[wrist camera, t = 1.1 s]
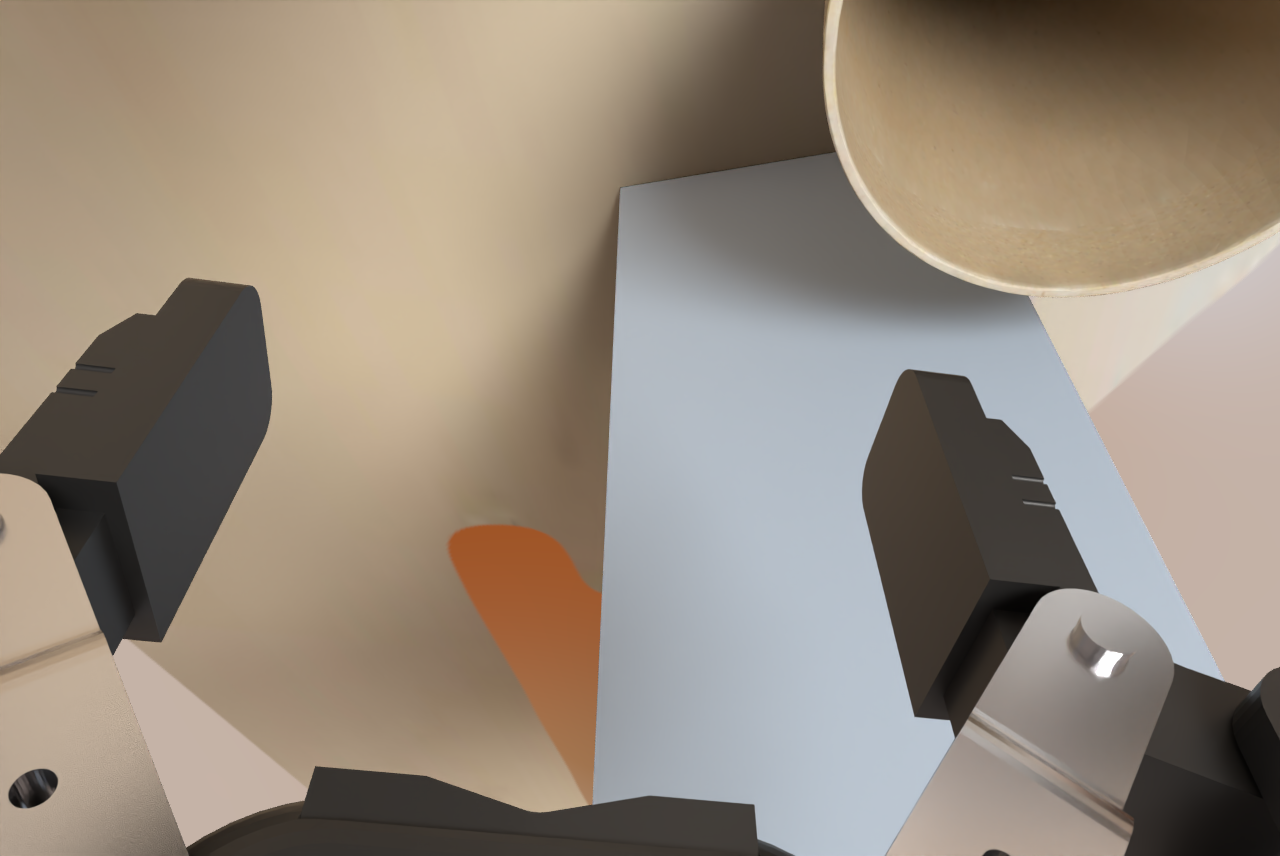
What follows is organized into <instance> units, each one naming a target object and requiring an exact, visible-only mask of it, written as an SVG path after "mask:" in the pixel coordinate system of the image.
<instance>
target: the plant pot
mask: <svg viewBox="0 0 1280 856" xmlns="http://www.w3.org/2000/svg"><path fill="white" fill-rule="evenodd" d="M822 78H823V93H824V103H825V110H826V116H827V121H828V125H829V130H830V134H831V137H832V141H833V144H834V148H835V151H836V153H837V156H838V158H839V161H840V163H841V166H842V168H843V171H844V173H845V175H846V177H847V180H848V182H849V183H850V185H851V187H852V189H853V190H854V192H855V194H856V195H857V197H858V199H859V200H860V201H861V203H862V204H863V206H864V207H865V209H866V210H867V211H868V212H869V214H870V215H871V216H872V217H873V218H874V220H875V221H876V222H877V223H878V224H879V225H880V226H881V227H882V228H883V230H884V231H885V232H886V233H887V234H888V235H889V236H890V237H891V238H893V239H894V240H895V241H896V242H897V243H898V244H899V245H900V246H902V247H903V248H905V249H906V250H907V251H909V252H910V253H912V254H913V255H914V256H916V257H917V258H919V259H921V260H922V261H924V262H926V263H927V264H929V265H931V266H933V267H935V268H937V269H939V270H941V271H943V272H945V273H947V274H950V275H952V276H954V277H956V278H959V279H961V280H963V281H966V282H969V283H972V284H976V285H979V286H982V287H985V288H989V289H993V290H997V291H1002V292H1006V293H1012V294H1018V295H1026V296H1036V297H1084V296H1096V295H1105V294H1112V293H1119V292H1125V291H1130V290H1134V289H1138V288H1143V287H1147V286H1151V285H1156V284H1160V283H1163V282H1167V281H1170V280H1174V279H1177V278H1180V277H1182V276H1185V275H1188V274H1191V273H1194V272H1196V271H1199V270H1202V269H1204V268H1207V267H1209V266H1212V265H1214V264H1217V263H1219V262H1221V261H1223V260H1226V259H1228V258H1230V257H1232V256H1234V255H1236V254H1238V253H1240V252H1242V251H1244V250H1246V249H1248V248H1250V247H1252V246H1254V245H1256V244H1258V243H1260V242H1262V241H1264V240H1266V239H1268V238H1270V237H1271V236H1273V235H1275V234H1276V233H1278V232H1280V0H825V7H824V24H823V59H822Z"/></svg>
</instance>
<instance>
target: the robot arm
mask: <svg viewBox="0 0 1280 856" xmlns="http://www.w3.org/2000/svg"><path fill="white" fill-rule="evenodd" d="M271 406H272V388H271V380H270V372H269V364H268V356H267V349H266V341H265V333H264V326H263V318H262V310H261V303H260V298H259V295H258V293H257V291H256V289H255V288H254V287H253V286H250V285H242V284H234V283H226V282H218V281H210V280H202V279H194V278H187V279H185V280H183V281H182V282H181V283H180V284H179V286H178V287H177V288H176V290H175V291H174V292H173V294H172V295H171V296H170V297H169V299H168V300H167V301H166V303H165V304H164V305H163V307H162V308H161V309H160V311H159V312H158V313H157V315H156V316H155V315H147V314H138V313H137V314H135V315H133V316H131V317H130V318H128V319H126V320H124V321H123V322H121V323H119V324H118V325H116V326H114V327H112V328H111V329H109V330H107V331H105V332H104V333H102V334H100V335H99V336H98V337H97V338H96V339H95V340H94V342H93V343H92V344H91V345H90V347H89V348H88V349H87V350H86V351H85V353H84V354H83V355H82V356H81V357H80V359H79V360H78V361H77V362H76V368H75V369H71V370H70V371H69V372H68V373H67V374H66V376H65V377H64V378H63V379H62V380H61V382H60V383H59V384H58V385H57V391H56V393H53V392H52V393H51V394H50V395H49V396H48V397H47V399H46V400H45V401H44V402H43V403H42V405H41V406H40V407H39V408H38V409H37V411H36V412H35V413H34V414H33V416H32V417H31V418H30V419H29V420H28V422H27V423H26V424H25V425H24V426H23V428H22V429H21V430H20V431H19V432H18V434H17V435H16V436H15V437H14V439H13V440H12V441H11V442H10V443H9V445H8V446H7V447H6V448H5V449H4V451H3V452H2V453H1V454H0V856H795V855H793V854H791V853H789V852H787V851H785V850H783V849H781V848H778V847H776V846H774V845H772V844H770V843H767V842H764V841H762V840H759V839H757V828H756V816H755V805H754V804H743V803H731V802H720V801H708V800H697V799H685V798H674V797H662V796H651V795H649V796H643V797H637V798H631V799H624V800H618V801H612V802H606V803H600V804H594V805H588V806H582V807H576V808H570V809H564V810H558V811H551V812H542V813H538V812H530V811H526V810H523V809H520V808H517V807H514V806H511V805H508V804H505V803H503V802H500V801H497V800H494V799H491V798H488V797H485V796H482V795H479V794H477V793H474V792H471V791H468V790H465V789H462V788H459V787H456V786H453V785H451V784H448V783H445V782H442V781H439V780H436V779H433V778H430V777H428V776H420V775H409V774H397V773H386V772H374V771H363V770H351V769H340V768H328V767H316V766H315V769H314V772H313V776H312V779H311V782H310V785H309V789H308V792H307V795H306V798H305V801H300V802H295V803H289V804H285V805H281V806H278V807H274V808H270V809H267V810H264V811H260V812H257V813H255V814H252V815H249V816H247V817H244V818H242V819H239V820H237V821H234V822H232V823H229V824H228V825H226V826H224V827H222V828H220V829H218V830H216V831H214V832H212V833H210V834H208V835H206V836H204V837H203V838H201V839H199V840H198V841H196V842H195V843H193V844H192V845H190V846H188V847H187V848H186V847H185V844H184V842H183V839H182V836H181V834H180V831H179V829H178V826H177V823H176V821H175V818H174V816H173V813H172V810H171V808H170V805H169V802H168V800H167V797H166V795H165V792H164V789H163V787H162V784H161V782H160V779H159V776H158V774H157V771H156V769H155V766H154V764H153V761H152V758H151V755H150V753H149V750H148V748H147V745H146V742H145V740H144V737H143V735H142V732H141V729H140V727H139V724H138V722H137V719H136V717H135V714H134V711H133V709H132V706H131V703H130V701H129V698H128V696H127V693H126V690H125V688H124V685H123V683H122V680H121V678H120V675H119V672H118V670H117V668H116V664H115V662H114V659H113V655H114V653H115V651H116V649H117V647H118V645H119V644H120V642H121V640H122V639H131V640H141V641H151V642H162V640H163V638H164V636H165V634H166V632H167V630H168V628H169V626H170V624H171V622H172V620H173V618H174V616H175V614H176V612H177V610H178V608H179V606H180V604H181V602H182V600H183V598H184V596H185V594H186V592H187V590H188V588H189V586H190V584H191V582H192V580H193V578H194V576H195V574H196V572H197V570H198V568H199V566H200V564H201V562H202V560H203V558H204V556H205V554H206V552H207V550H208V548H209V546H210V544H211V543H212V541H213V539H214V537H215V535H216V533H217V531H218V529H219V527H220V525H221V523H222V521H223V519H224V517H225V515H226V513H227V511H228V509H229V507H230V505H231V503H232V501H233V499H234V497H235V495H236V493H237V491H238V489H239V487H240V485H241V483H242V481H243V479H244V477H245V475H246V473H247V471H248V469H249V467H250V465H251V463H252V461H253V459H254V457H255V455H256V453H257V451H258V449H259V447H260V445H261V443H262V441H263V439H264V437H265V434H266V432H267V428H268V425H269V420H270V414H271ZM1043 481H1044V477H1043V475H1042V472H1041V470H1040V468H1039V466H1038V464H1037V462H1036V460H1035V458H1034V456H1033V454H1032V451H1031V449H1030V448H1029V447H1028V446H1027V445H1026V444H1025V443H1024V442H1023V441H1022V440H1021V439H1020V438H1019V437H1018V436H1017V435H1016V434H1015V433H1014V432H1013V431H1012V430H1011V429H1010V428H1009V427H1008V426H1007V425H1006V424H1005V423H1004V422H1003V421H1002V420H1000V419H992V418H986V416H985V413H984V411H983V409H982V407H981V404H980V402H979V400H978V397H977V395H976V393H975V391H974V388H973V386H972V384H971V382H970V380H969V379H968V378H967V377H965V376H961V375H953V374H945V373H937V372H929V371H921V370H913V369H907V370H905V371H904V372H903V373H902V374H901V375H900V377H899V378H898V380H897V382H896V385H895V387H894V390H893V393H892V395H891V398H890V400H889V403H888V406H887V408H886V411H885V413H884V416H883V419H882V421H881V424H880V427H879V429H878V432H877V434H876V437H875V440H874V442H873V445H872V447H871V450H870V453H869V455H868V458H867V461H866V464H865V468H864V474H863V481H862V503H863V509H864V513H865V517H866V521H867V525H868V529H869V534H870V538H871V542H872V546H873V550H874V554H875V558H876V562H877V566H878V570H879V574H880V578H881V583H882V587H883V591H884V595H885V599H886V603H887V607H888V611H889V615H890V619H891V623H892V627H893V631H894V636H895V640H896V644H897V648H898V652H899V656H900V660H901V664H902V668H903V672H904V676H905V680H906V685H907V689H908V693H909V697H910V701H911V705H912V709H913V713H914V717H918V718H929V719H939V720H950V722H951V726H952V730H953V733H954V737H955V739H954V741H953V742H952V744H951V746H950V747H949V749H948V751H947V752H946V754H945V756H944V757H943V759H942V761H941V762H940V764H939V766H938V767H937V769H936V771H935V772H934V774H933V776H932V777H931V779H930V781H929V782H928V784H927V786H926V787H925V789H924V791H923V792H922V794H921V796H920V797H919V799H918V801H917V802H916V804H915V806H914V807H913V809H912V811H911V812H910V814H909V816H908V817H907V819H906V821H905V822H904V824H903V826H902V827H901V829H900V830H899V832H898V834H897V835H896V837H895V839H894V840H893V842H892V844H891V845H890V847H889V849H888V850H887V852H886V854H885V855H884V856H1280V667H1279V668H1276V669H1273V670H1272V671H1270V672H1269V673H1268V674H1267V675H1266V676H1265V677H1264V678H1263V679H1262V680H1261V681H1260V682H1259V683H1258V684H1257V685H1256V687H1255V688H1254V689H1253V690H1252V691H1249V690H1247V689H1244V688H1241V687H1239V686H1236V685H1233V684H1230V683H1227V682H1225V681H1222V680H1219V679H1216V678H1214V677H1211V676H1208V675H1205V674H1202V673H1200V672H1197V671H1194V670H1191V669H1188V668H1186V667H1183V666H1181V665H1178V664H1176V663H1173V660H1172V656H1171V653H1170V651H1169V649H1168V647H1167V645H1166V644H1165V642H1164V641H1163V639H1162V638H1161V636H1160V635H1159V634H1158V633H1157V631H1156V630H1155V629H1154V628H1153V627H1152V626H1151V625H1150V624H1149V623H1148V622H1147V621H1146V620H1145V619H1144V618H1142V617H1141V616H1140V615H1138V614H1137V613H1136V612H1135V611H1133V610H1132V609H1130V608H1128V607H1127V606H1125V605H1124V604H1122V603H1120V602H1118V601H1116V600H1114V599H1112V598H1110V597H1107V596H1105V595H1102V594H1099V592H1098V590H1097V588H1096V586H1095V584H1094V582H1093V580H1092V578H1091V575H1090V573H1089V571H1088V569H1087V567H1086V565H1085V563H1084V561H1083V559H1082V557H1081V554H1080V552H1079V550H1078V548H1077V546H1076V544H1075V542H1074V540H1073V538H1072V536H1071V533H1070V531H1069V529H1068V527H1067V525H1066V523H1065V521H1064V519H1063V517H1062V514H1061V512H1060V510H1059V509H1055V504H1056V502H1055V500H1054V498H1053V496H1052V493H1051V491H1050V489H1049V487H1048V485H1047V484H1044V483H1043Z"/></svg>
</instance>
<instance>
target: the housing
mask: <svg viewBox="0 0 1280 856" xmlns="http://www.w3.org/2000/svg"><path fill="white" fill-rule="evenodd" d="M907 369H913V370H921V371H929V372H937V373H945V374H953V375H961V376H965V377H967V378H968V379H969V380H970V382H971V384H972V386H973V388H974V391H975V393H976V395H977V397H978V400H979V402H980V404H981V407H982V409H983V411H984V413H985V416H986V418H992V419H1000V420H1002V421H1003V422H1004V423H1005V424H1006V425H1007V426H1008V427H1009V428H1010V429H1011V430H1012V431H1013V432H1014V433H1015V434H1016V435H1017V436H1018V437H1019V438H1020V439H1021V440H1022V441H1023V442H1024V443H1025V444H1026V445H1027V446H1028V447H1029V448H1030V449H1031V451H1032V454H1033V456H1034V458H1035V460H1036V462H1037V464H1038V466H1039V468H1040V470H1041V472H1042V475H1043V477H1044V481H1043V483H1044V484H1047V485H1048V487H1049V489H1050V491H1051V493H1052V496H1053V498H1054V500H1055V502H1056V504H1055V509H1059V510H1060V512H1061V514H1062V517H1063V519H1064V521H1065V523H1066V525H1067V527H1068V529H1069V531H1070V533H1071V536H1072V538H1073V540H1074V542H1075V544H1076V546H1077V548H1078V550H1079V552H1080V554H1081V557H1082V559H1083V561H1084V563H1085V565H1086V567H1087V569H1088V571H1089V573H1090V575H1091V578H1092V580H1093V582H1094V584H1095V586H1096V588H1097V590H1098V592H1099V594H1102V595H1105V596H1107V597H1110V598H1112V599H1114V600H1116V601H1118V602H1120V603H1122V604H1124V605H1125V606H1127V607H1128V608H1130V609H1132V610H1133V611H1135V612H1136V613H1137V614H1138V615H1140V616H1141V617H1142V618H1144V619H1145V620H1146V621H1147V622H1148V623H1149V624H1150V625H1151V626H1152V627H1153V628H1154V629H1155V630H1156V631H1157V633H1158V634H1159V635H1160V636H1161V638H1162V639H1163V641H1164V642H1165V644H1166V645H1167V647H1168V649H1169V651H1170V653H1171V656H1172V660H1173V663H1176V664H1178V665H1181V666H1183V667H1186V668H1188V669H1191V670H1194V671H1197V672H1200V673H1202V674H1205V675H1208V676H1211V677H1214V678H1216V679H1219V680H1222V681H1224V679H1223V677H1222V675H1221V673H1220V671H1219V669H1218V667H1217V665H1216V663H1215V661H1214V659H1213V657H1212V655H1211V653H1210V651H1209V649H1208V648H1207V645H1206V643H1205V641H1204V639H1203V638H1202V636H1201V634H1200V632H1199V630H1198V628H1197V626H1196V624H1195V622H1194V620H1193V618H1192V616H1191V614H1190V612H1189V610H1188V608H1187V606H1186V604H1185V602H1184V600H1183V598H1182V596H1181V594H1180V592H1179V590H1178V589H1177V587H1176V585H1175V583H1174V581H1173V579H1172V577H1171V575H1170V573H1169V571H1168V569H1167V567H1166V565H1165V563H1164V561H1163V559H1162V557H1161V555H1160V553H1159V551H1158V549H1157V548H1156V545H1155V543H1154V541H1153V540H1152V538H1151V536H1150V534H1149V532H1148V530H1147V528H1146V526H1145V524H1144V522H1143V520H1142V518H1141V516H1140V514H1139V512H1138V510H1137V508H1136V506H1135V504H1134V502H1133V500H1132V498H1131V496H1130V494H1129V492H1128V490H1127V489H1126V487H1125V485H1124V483H1123V481H1122V479H1121V477H1120V475H1119V473H1118V471H1117V469H1116V467H1115V465H1114V463H1113V461H1112V459H1111V457H1110V455H1109V453H1108V451H1107V449H1106V447H1105V445H1104V443H1103V441H1102V440H1101V438H1100V436H1099V434H1098V432H1097V430H1096V428H1095V426H1094V424H1093V422H1092V420H1091V418H1090V416H1089V414H1088V412H1087V410H1086V408H1085V406H1084V404H1083V402H1082V400H1081V398H1080V396H1079V394H1078V392H1077V390H1076V388H1075V387H1074V385H1073V383H1072V381H1071V379H1070V377H1069V375H1068V373H1067V371H1066V369H1065V367H1064V365H1063V363H1062V361H1061V359H1060V357H1059V355H1058V353H1057V351H1056V349H1055V347H1054V345H1053V343H1052V341H1051V339H1050V337H1049V336H1048V334H1047V332H1046V330H1045V328H1044V326H1043V324H1042V322H1041V320H1040V318H1039V316H1038V314H1037V312H1036V310H1035V308H1034V306H1033V304H1032V302H1031V300H1030V298H1029V296H1026V295H1018V294H1012V293H1006V292H1002V291H997V290H993V289H989V288H985V287H982V286H979V285H976V284H972V283H969V282H966V281H963V280H961V279H959V278H956V277H954V276H952V275H950V274H947V273H945V272H943V271H941V270H939V269H937V268H935V267H933V266H931V265H929V264H927V263H926V262H924V261H922V260H921V259H919V258H917V257H916V256H914V255H913V254H912V253H910V252H909V251H907V250H906V249H905V248H903V247H902V246H900V245H899V244H898V243H897V242H896V241H895V240H894V239H893V238H891V237H890V236H889V235H888V234H887V233H886V232H885V231H884V230H883V228H882V227H881V226H880V225H879V224H878V223H877V222H876V221H875V220H874V218H873V217H872V216H871V215H870V214H869V212H868V211H867V210H866V209H865V207H864V206H863V204H862V203H861V201H860V200H859V199H858V197H857V195H856V194H855V192H854V190H853V189H852V187H851V185H850V183H849V182H848V180H847V177H846V175H845V173H844V171H843V168H842V166H841V163H840V161H839V158H838V156H837V153H836V152H834V153H827V154H821V155H815V156H809V157H803V158H797V159H791V160H785V161H779V162H773V163H767V164H761V165H755V166H749V167H743V168H737V169H731V170H725V171H719V172H712V173H706V174H700V175H694V176H688V177H682V178H676V179H670V180H664V181H658V182H652V183H646V184H640V185H634V186H628V187H622V188H620V204H619V226H618V249H617V271H616V293H615V316H614V338H613V360H612V383H611V405H610V427H609V450H608V472H607V494H606V517H605V539H604V561H603V584H602V608H601V629H600V630H601V631H600V652H599V673H598V696H597V719H596V740H595V762H594V785H593V786H594V787H593V805H594V804H600V803H606V802H612V801H618V800H624V799H631V798H637V797H643V796H649V795H651V796H662V797H674V798H685V799H697V800H708V801H720V802H731V803H743V804H754V805H755V816H756V828H757V839H759V840H762V841H764V842H767V843H770V844H772V845H774V846H776V847H778V848H781V849H783V850H785V851H787V852H789V853H791V854H793V855H795V856H884V855H885V854H886V852H887V850H888V849H889V847H890V845H891V844H892V842H893V840H894V839H895V837H896V835H897V834H898V832H899V830H900V829H901V827H902V826H903V824H904V822H905V821H906V819H907V817H908V816H909V814H910V812H911V811H912V809H913V807H914V806H915V804H916V802H917V801H918V799H919V797H920V796H921V794H922V792H923V791H924V789H925V787H926V786H927V784H928V782H929V781H930V779H931V777H932V776H933V774H934V772H935V771H936V769H937V767H938V766H939V764H940V762H941V761H942V759H943V757H944V756H945V754H946V752H947V751H948V749H949V747H950V746H951V744H952V742H953V741H954V739H955V737H954V733H953V730H952V726H951V722H950V720H939V719H929V718H918V717H914V713H913V709H912V705H911V701H910V697H909V693H908V689H907V685H906V680H905V676H904V672H903V668H902V664H901V660H900V656H899V652H898V648H897V644H896V640H895V636H894V631H893V627H892V623H891V619H890V615H889V611H888V607H887V603H886V599H885V595H884V591H883V587H882V583H881V578H880V574H879V570H878V566H877V562H876V558H875V554H874V550H873V546H872V542H871V538H870V534H869V529H868V525H867V521H866V517H865V513H864V509H863V503H862V481H863V474H864V468H865V464H866V461H867V458H868V455H869V453H870V450H871V447H872V445H873V442H874V440H875V437H876V434H877V432H878V429H879V427H880V424H881V421H882V419H883V416H884V413H885V411H886V408H887V406H888V403H889V400H890V398H891V395H892V393H893V390H894V387H895V385H896V382H897V380H898V378H899V377H900V375H901V374H902V373H903V372H904V371H905V370H907Z"/></svg>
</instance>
